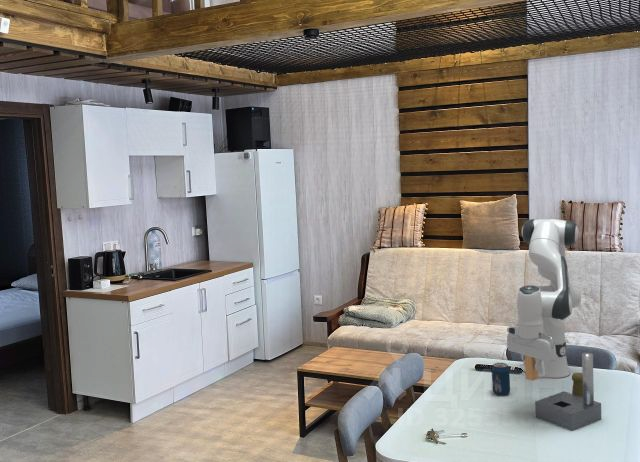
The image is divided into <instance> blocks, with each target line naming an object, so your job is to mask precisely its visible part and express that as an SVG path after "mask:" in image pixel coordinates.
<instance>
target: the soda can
mask: <svg viewBox="0 0 640 462" xmlns="http://www.w3.org/2000/svg"><path fill="white" fill-rule="evenodd" d="M508 365H509V364H507V363H504V362H496V363H493V364H492V367H491V381H492V382H491V384H492V387H491V388H492V392H493V394H494V395H496V396H497V397H504V396H508V395H509V394H510V392H511V381H510V380H511V377H510V375H511V374H510V368H509V366H508Z"/></svg>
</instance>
